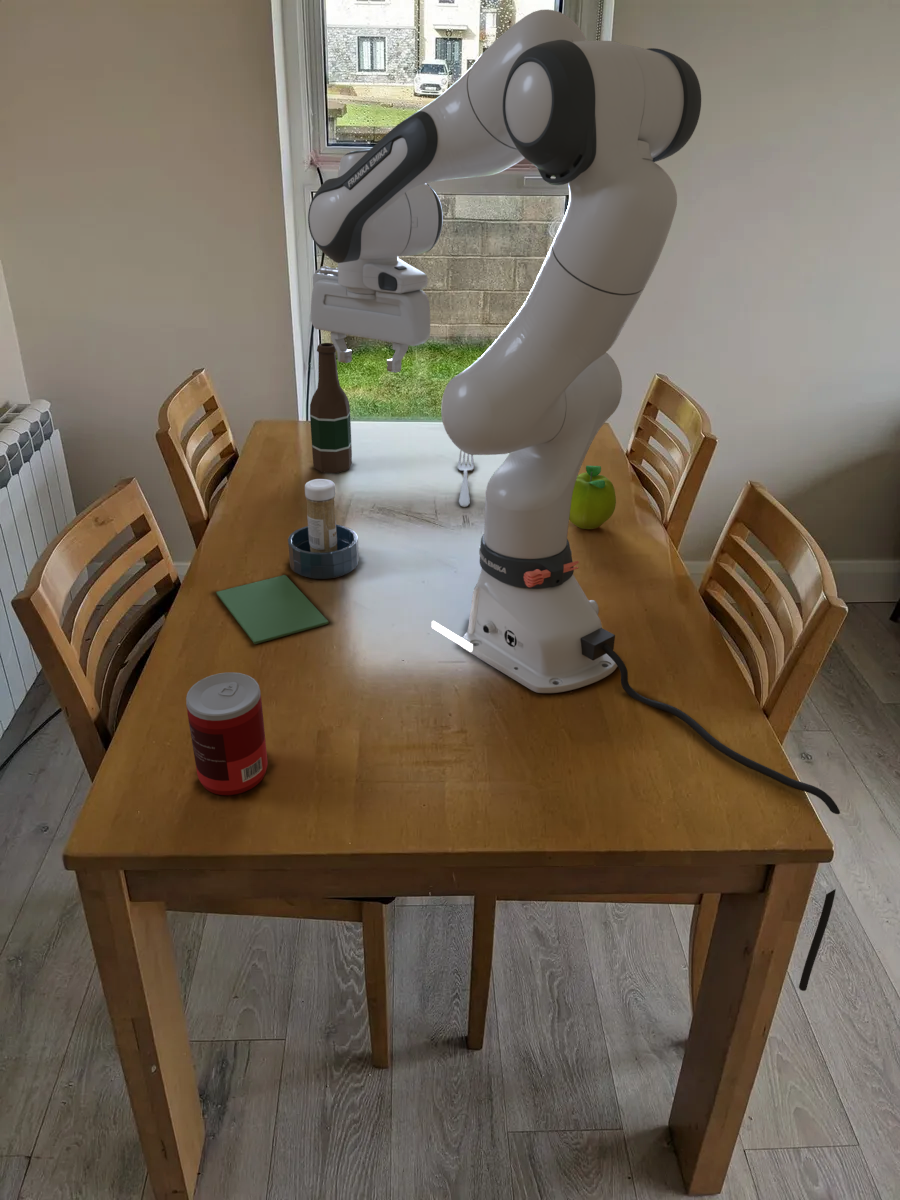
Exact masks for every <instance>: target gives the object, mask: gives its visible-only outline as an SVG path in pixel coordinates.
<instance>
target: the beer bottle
mask: <svg viewBox="0 0 900 1200" xmlns="http://www.w3.org/2000/svg"><path fill="white" fill-rule="evenodd" d="M336 351H337V350H336V348H335V346H334V344H333V342H322V343H319V344H318V345H317V348H316V352H317V353H318V362H317V363H318V365H317V366H318V372H317V373H318V374H317V375H318V376H317V377H318V381H317V388H316V390H315V392H314V394H313V395H312V398H311V400H310V404H309V419H310V420H309V421H310V422H309V423H310V435H311V436H310V438H311V451H312V452H311V453H312V463H313V468H314V469H315V470H317V471H319V472H321V473H325V474H339V473H342V472H346V471H348V470H349V469H350V468H351V465H352V462H353V450H352V447H353V446H352V426H351V423H352V422H351V406H350V400H349V398H348V395H347V394H346V392H345V391H344V390H343V388H342V387H341V384H340V380H339V372H338V371H339V370H338V360H337V353H336Z"/></svg>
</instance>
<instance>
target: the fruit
mask: <svg viewBox="0 0 900 1200" xmlns="http://www.w3.org/2000/svg"><path fill="white" fill-rule="evenodd" d="M585 471H586V472H582V473H578V476H577V479H576V482H575V486H574V489H573V494H572V500H571V508H570V516H569V522H570V523H572V524H573V525H574V526H576V527H577V528H579V529H582V530H595V529H597V528H599V527H600V526H602V525H603V524H605V523H606V522H607V521H608V520H609V519H610V518H611V517H612V516H613V514H614V512H615V510H616V506H617V497H616V490H615V487H614V484H613V482H612V481H611V480H610V479H609V478H608V477H606V476H605V475H602V474H601V472H602V466H601V465H586V466H585Z"/></svg>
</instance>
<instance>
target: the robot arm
mask: <svg viewBox="0 0 900 1200" xmlns="http://www.w3.org/2000/svg"><path fill="white" fill-rule="evenodd" d="M701 110H702V89H701V85H700V81H699V78H698V76H697V74H696V71H695V70H694V69H693V67H692V66H691V65H690V64H689V63H688V62H687V61H686V60H684V59H683V58H681V57H680V56H678V55H676V54H674V53H672V52H669V51H667V50H664V49H661V48H654V47H650V48H644V47H640V46H635V45H629V44H623V43H621V42H618V41H616V40H597V39H596V40H587V38H586V36H585V35H584V33H583V31H582V29H581V28H580V26H579V25H578V24H577V23H576V22H575V21H574V20H572V19H571V17H569V16H568V15H566V14H564V13H562V12H560V11H558V10H554V9H538V10H535V11H532V12H531V13H529V14H527V15H525V16H523V18H521V19H520V20H518V21H517V22H516V23H514V24H513V25H512V26H510V27H509V28H508V29H506V30H505V31H504V32H503V33H502V34H501V35H499V37H498V38H496V39H495V40H494V41H493V42H492V43H491V44H490V45H489V46H488V47H487V48H486V49H485V50H484V51H483V53H481V54H480V55H479V57H478V58H477V59H476V60H475V62H473V64H472V65H471V66H470V67H469V68H468V69H467V70H466V72H465V73H464V74H462V75H461V77H459V78H458V79H457V80H456V81H455V82H454V83H453V84H452V85H451V86H449V87H448V88H447V89H446V90H444V92H442V93H441V94H440V95H439V96H437V97H436V98H435V99H434V100H432V101H430V102H429V103H427V104H426V105H425V106H423V107H422V108H421V109H419V110H417V111H416V112H414V113H413V114H411V115H410V116H408V117H407V118H405V119H404V120H402V121H401V122H399V123H398V124H397V125H395V126H394V127H393V128H391V130H390V131H388V132H387V133H386V134H385V135H384V136H383V137H382V138H381V139H380V140H378V142H376V143H375V145H373V146H372V147H371V148H369V149H367V148H366V149H361V150H360V149H357V150H353V151H349V152H347V153H346V154H344V155H343V156H341V158H340V161H339V165H338V172H337V177H334V178H327V179H326V180H325V181H324V182H323V183H322V184H321V185H320V187H319V188H318V189H317V191H316V192H315V194H314V195H313V197H312V199H311V201H310V203H309V206H308V214H307V223H308V229H309V234H310V236H311V238H312V240H313V242H314V243H315V246H317V247H318V249H319V250H320V251H321V252H322V253H323V254H324V255H325V256H326V257H328V258H329V259H330V260H331V261H332V262H334V263H336V264H337V267H330V266H326V265H322V266H320V267H319V268H318V269H316V270H315V272H314V273H313V275H312V293H311V301H310V302H311V303H310V322H311V324H312V326H313V328H314V329H315V330H319V331H324V332H325V331H326V332H330V340H331V343H332V344H334V346H335V348H336V351H337V353H336V354H337V362H339V363H343V364H348V363H351V362H352V361H353V356H352V355H353V349H348V346H347V343H346V340H345V338H347V336H354V337H359V338H365V339H370V340H377V341H383V342H388V343H392V350H393V351H394V354H393V355H392V358H389V359H386V365H387V366H386V371H387V372H390V373H395V374H396V373H400V372H401V371H402V360H403V358H404V357H405V355H406V353H407V352H408V350H409V346H411V347H415V346H416V347H417V346H420V345H422V344H425V343H426V342H427V341H428V340H429V338H430V336H431V306H430V300H429V297H428V294H427V293H426V292H425V291H424V290H423V289H427V287H428V282H429V279H428V275H427V274H426V273H425V272H424V271H421V270H420V269H418V268H416V267H414V266H412V265H411V264H410V263H409V264H408V263H407V262H405V261H404V260H403V259H400V258H399V257H409V256H411V257H412V256H418V255H421V254H424V253H428V252H430V251H431V250H432V249H433V248H434V247H435V246H436V244H437V243H438V241H439V239H440V236H441V233H442V230H443V223H444V215H443V206H442V203H441V199H440V197H439V196H438V194H437V193H436V192H437V191H435V190H434V188H433V187H432V186H431V185H430V183H435V182H441V181H449V180H458V179H459V180H461V179H469V178H471V179H472V178H480V177H488V176H494V175H497V174H499V173H502V172H504V171H506V170H508V169H510V168H511V167H513V166H515V165H516V164H518V163H520V162H522V161H523V160H524V159H525V160H526V161H528V162H529V163H530V164H532V165H533V166H535V167H536V168H537V170H538V173H539V175H540V176H541V178H542V180H543V181H544V182H545V183H546V184H547V183H548V184H549V185H552V186H563V185H566V184H567V186H568V191H569V199H568V205H567V209H566V211H565V214H564V216H563V219H562V221H561V222H560V225H559V227H558V229H557V231H556V234H555V236H554V237H553V240H552V243H551V245H550V247H549V250H548V252H547V254H546V256H545V259H544V261H543V263H542V265H541V268H540V270H539V272H538V274H537V276H536V279H535V281H534V283H533V285H532V288H531V289H530V291H529V293H528V295H527V297H526V299H525V300H524V302H523V304H522V305H521V306H520V308H519V310H518V311H517V312H516V314H515V316H513V318H512V319H511V320H510V321H509V323H508V324H507V326H506V327H505V328H504V329H503V330H502V332H501V333H500V334H499V335H498V336H497V337H496V339H495V340H494V341H493V342H492V343H491V344H490V345H489V347H488V348H487V349H486V350H485V351H484V352H483V353H482V354H481V355H480V356H479V357H478V358H477V359H475V361H474V362H473V363H472V364H470V365H469V366H468V367H466V368H465V369H463V371H461V372H459V373H458V374H456V375H454V377H452V378H451V379H450V380H449V381H448V383H447V384H446V386H445V388H444V391H443V393H442V397H441V404H440V417H441V421H442V426H443V428H444V431H445V432H446V434H447V436H448V438H449V439H450V441H451V442H452V443H453V444H454V445H455V447H456V448H458V449H459V450H460V451H461V452H463V453H464V452H465V454H469V456H471V455H473V456H494V455H506V454H508V455H507V456H506V458H505V459H504V461H503V462H502V464H500V465H499V467H497V469H496V470H495V471H494V472H493V474H492V475H491V476H490V478H489V479H488V482H487V485H486V488H485V501H484V502H485V504H484V523H483V525H484V526H483V534H482V536H481V537H480V545H479V547H478V549H479V550H478V554H479V565H480V567H481V570H480V573H479V575H478V579H477V581H476V583H475V585H474V588H473V591H472V595H471V596H472V598H471V604H470V610H469V618H468V627H467V631H466V632H465V633H464V635H463V636H460V635H458V634H456V633H455V632H453V631H451V630H450V629H449V628H446V627H445V626H443V625H441V624H440V623H439V622H436V621H435V620H432V621H431V628H432V629H433V630H435V631H436V632H438V633H440V634H441V635H443V636H444V637H446V638H447V639H449V640H451V641H452V642H454V643H455V644H457V645H459V646H460V647H461V648H462V649H463V650H464V651H466V652H468V653H469V654H471V655H473V656H474V657H476V658H478V659H479V660H481V661H482V662H484V663H486V664H487V665H489V666H491V667H493V669H495V670H497V671H499V672H501V673H502V674H504V675H506V676H507V677H509V678H511V679H512V680H514V681H515V682H517V683H519V684H520V685H522V686H524V687H526V688H527V689H529V690H530V691H532V692H534V693H537V694H557V693H564V692H569V691H572V690H573V691H574V690H578V689H580V688H583V687H586V686H589V685H592V684H594V683H597V682H599V681H601V680H603V679H605V678H606V677H608V676H610V675H611V674H612V673H613V672H615V670H616V669H617V668H618V669H619V672H620V684H621V687H622V689H623V690H624V691H625V693H626V694H627V695H628V696H630V697H631V698H632V699H634V700H636V701H639V702H641V703H643V704H645V705H648V706H650V707H653V708H654V709H657V710H660V711H664V712H666V713H669V714H672V715H673V716H675V717H677V718H678V719H680V720H681V721H683V723H685V724H687V725H688V726H689V727H690V728H691V729H692V730H694V731H695V732H696V733H697V734H698V736H699V737H701V738H702V739H703V740H704V741H705V742H706V743H707V744H709V745H710V746H712V747H713V748H714V749H716V750H717V751H718V752H720V753H722V754H723V755H724V756H726V757H728V758H730V759H732V760H734V761H735V762H737V763H739V764H741V765H743V766H745V767H747V768H750V769H752V770H754V771H755V772H758V773H760V774H763V775H764V776H767V777H768V778H771V779H773V780H775V781H777V782H779V783H781V784H783V785H785V786H788V787H790V788H793V789H795V790H798V791H801V792H805V793H807V794H810V795H813V796H815V797H817V798H818V799H819V800H821V801H822V802H823V803H824V804H825V805H826V807H827V808H828V809H829V811H830V812H831V813H832V814H835V815H840V814H841V811H840V808H839V807H838V805H837V804H836V802H835V801H834V799H833V798H832V797H831V796H830V795H829V794H828V793H827V792H825V791H824V790H822V789H821V788H819V787H817V786H815V785H812V784H809V783H805V782H803V781H799V780H796V779H793V778H791V777H789V776H787V775H785V774H783V773H780V772H778V771H777V770H774V769H772V768H770V767H768V766H766V765H763V764H761V763H759V762H757V761H755V760H752V759H750V758H749V757H746V756H744V755H742V754H740V753H738V752H737V751H735V750H733V749H732V748H729V747H728V746H727V745H726V744H724V743H722V742H720V741H719V740H717V739H716V738H715V737H714V736H712V734H710V733H709V732H708V731H707V730H706V729H705V728H703V727H702V725H701V724H700V723H699V722H697V721H696V720H695V719H693V718H692V717H691V716H690V715H688V714H687V713H686V712H684V711H682V709H681V710H680V709H679V708H677V707H675V706H673V705H671V704H668V703H664V702H661V701H658V700H653V699H651V698H647V697H645V696H643V695H641V694H640V693H638V692H636V690H634V688H633V687H632V686H631V685H630V683H629V674H628V669H627V666H626V664H625V662H624V661H623V659H622V658H621V656H619V655H618V653H616V651H615V650H614V648H615V640H616V635H615V634H614V633H613V632H610V631H608V630H606V629H604V628H603V625H602V620H601V618H600V616H599V611H600V609H599V605H598V603H597V601H596V600H594V599H590V600H589V598H588V597H587V595H586V593H585V592H584V590H583V588H582V587H581V585H580V583H579V582H578V580H577V578H576V576H575V574H574V571H575V570H577V569H579V567H578V566H577V565H578V564H579V563H580V561H578V560H575V561H573V556H572V555H573V554H572V549H571V545H570V541H569V539H568V535H569V534H568V533H569V523H570V520H569V516H570V508H571V500H572V494H573V489H574V486H575V482H576V479H577V476H578V475H579V474H580V470H581V468H582V465H583V463H584V460H585V458H586V456H587V454H588V452H589V449H590V448H591V446H592V443H593V441H594V439H595V438H596V436H597V434H598V433H599V431H600V430H601V428H602V427H603V425H604V424H605V423H606V422H607V421H608V420H609V419H610V417H611V416H612V415H613V414H614V413H615V412H616V411H617V409H618V407H619V405H620V403H621V399H622V396H623V395H622V394H623V381H622V376H621V373H620V369H619V367H618V365H617V363H616V361H615V360H614V359H613V357H612V355H610V354H609V353H608V351H609V350H610V349H611V348H612V347H613V345H615V343H616V342H617V340H618V339H619V336H620V335H621V333H622V331H623V329H624V328H625V325H626V323H627V322H628V320H629V318H630V316H631V314H632V312H633V311H634V309H635V307H636V306H637V303H638V301H639V299H640V298H641V296H642V294H643V292H644V290H645V288H646V287H647V284H648V283H649V280H650V279H651V276H652V274H653V272H654V271H655V268H656V266H657V263H658V261H659V259H660V257H661V254H662V252H663V249H664V247H665V244H666V242H667V240H668V236H669V233H670V232H671V231H670V230H671V228H672V224H673V220H674V217H675V214H676V211H677V207H678V193H677V189H676V185H675V183H674V182H673V179H672V178H671V177H670V175H669V174H668V173H667V172H666V171H665V169H664V168H662V167H661V166H660V165H659V164H658V163H657V162H659V161H662V160H665V159H667V158H669V157H672V156H673V155H674V154H676V153H678V152H680V151H681V150H682V149H683V148H684V147H685V146H686V144H687V143H688V142H689V141H690V140H691V138H692V136H693V134H694V133H695V130H696V128H697V126H698V123H699V119H700V115H701ZM552 177H553V178H552ZM836 891H837V889H836V888H835V889H833V890H831V891H830V892H827V893H826V894H825V896H824V897H825V898H824V901H823V906H822V910H821V914H820V917H819V920H818V924H817V927H816V929H815V933H814V935H813V939H812V940H811V945H810V947H809V950H808V954H807V957H806V959H805V962H804V966H803V969H802V973H801V975H800V981H799V985H798V989H799V990H800V991H802V992H805V991H807V989H808V985H809V981H810V977H811V974H812V971H813V967H814V964H815V962H816V958H817V955H818V953H819V949H820V946H821V943H822V941H823V938H824V935H825V932H826V929H827V926H828V923H829V919H830V916H831V912H832V909H833V908H832V907H833V906H834V900H835V896H836Z"/></svg>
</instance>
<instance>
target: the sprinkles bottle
mask: <svg viewBox="0 0 900 1200" xmlns="http://www.w3.org/2000/svg"><path fill="white" fill-rule="evenodd" d="M304 496H305V499H306V508H307V509H306V510H307V512H306V513H307V514H306V519H307V526H308V532H309V544H310V552H316V553H324V552H333V551H337V532H336V525H337V517H336V507H335V498H336V485H335V483H334V482H333V480H330V479H326V478H315V479H311V480H309V481H307V482H306V483H305V484H304Z"/></svg>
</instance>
